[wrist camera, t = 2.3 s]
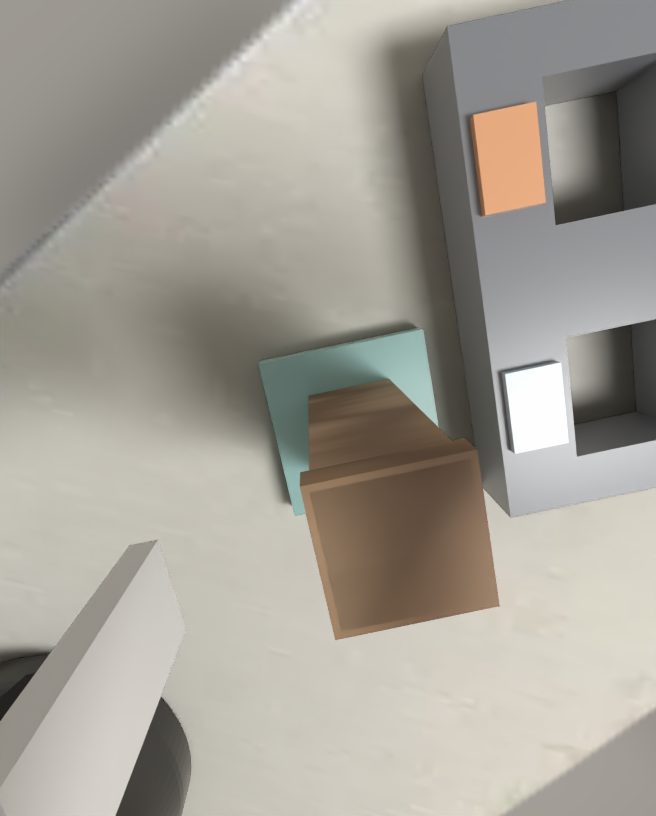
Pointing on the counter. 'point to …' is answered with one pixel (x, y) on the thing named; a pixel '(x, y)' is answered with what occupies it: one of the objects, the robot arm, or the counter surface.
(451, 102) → the port box
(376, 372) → the plate
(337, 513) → the plug
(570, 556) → the counter surface
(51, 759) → the robot arm
